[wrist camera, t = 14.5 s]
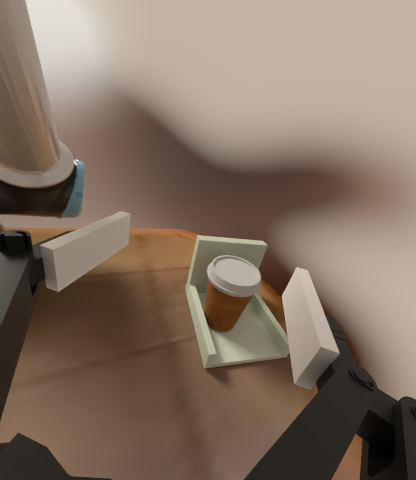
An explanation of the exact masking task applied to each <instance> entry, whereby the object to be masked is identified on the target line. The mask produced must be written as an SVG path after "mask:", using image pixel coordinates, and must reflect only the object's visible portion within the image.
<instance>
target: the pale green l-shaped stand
mask: <svg viewBox="0 0 416 480" xmlns="http://www.w3.org/2000/svg"><path fill="white" fill-rule="evenodd" d="M266 248H267V244H266V243H264V242H263V241H256V240H245V239H233V238H222V237H211V236H199V235H197V239H196V244H195V248H194V253H193V257H192V262H191V267H190V271H189V276H188V280H187V285H186V295H187V299H188V303H189V307H190V311H191V315H192V320H193V324H194V328H195V332H196V336H197V340H198V345H199V349H200V353H201V357H202V361H203V365H204V369H205V368H212V367H220V366H227V365H234V364H242V363H249V362H257V361H264V360H272V359H279V358H286V357H287V355H288V354H289V352H290V350H289V343H288V336H287V335H286V333H285V332H284V330H283V329H282V328H281V326H280V325H279V323H278V322H277V320H276V319H275V317H274V316H273V314H272V313H271V311H270V310H269V308H268V307H267V305H266V304H265V302H264V301H263V300H262V298H261V297H260V295H259V294H258V292H256V293H255V294H254V295H253V296H252V298H251V300H250V301H249V303H248V304H247V306H246V308H245V309H244V311H243V313H242V314H241V316H240V317H239V319H238V321H237V322H236V324H235V326H234V327H233V329H232V330H230V331H228V332H218V331H215V330H213V329H212V328H210V327H209V326H208V325H207V321H206V318H205V315H204V309H205V301H206V292H207V284H208V274H207V268H208V265H209V264H210V263H211V262H212V261H213V259H215V258H216V257H218V256H223V255H231V256H236V257H239V258H242V259H245V260H247V261H248V262H250V263H251V264H253V265H254V266H255V267H256V268H257V269H259V266H260V264H261V261H262V258H263V256H264V253H265V251H266Z"/></svg>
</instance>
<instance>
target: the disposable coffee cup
mask: <svg viewBox="0 0 416 480" xmlns="http://www.w3.org/2000/svg"><path fill="white" fill-rule="evenodd" d="M207 274H208V284H207V292H206V301H205V309H204V315H205V318H206V321H207V325H208V326H209V327H210V328H212V329H213V330H215V331H218V332H228V331H230V330H232V329H233V327H234V326H235V324H236V322H237V321H238V319H239V317H240V316H241V314H242V313H243V311H244V309H245V308H246V306H247V304H248V303H249V301H250V300H251V298H252V296H253V295H254V294H255V293H256V292H257V291H259V289H260V287H261V275H260V272H259V270H258V269H257V268H256V267H255V266H254V265H253V264H251V263H250V262H248V261H247V260H245V259H242V258H239V257H236V256H231V255H223V256H218V257H216V258H215V259H213V261H212V262H211V263H210V264H209V265H208V268H207Z"/></svg>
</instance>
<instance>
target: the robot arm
mask: <svg viewBox="0 0 416 480" xmlns="http://www.w3.org/2000/svg"><path fill="white" fill-rule="evenodd" d="M84 174H85V164H84V163H83V162H81V161H78V160H77V159H73V156H72V154H71V152H70V150H69V149H68V148H67V147H66V146H65V145H64V144H63V143H62V142H60V141H59V139H58V135H57V131H56V127H55V122H54V118H53V114H52V110H51V106H50V102H49V98H48V94H47V89H46V85H45V81H44V77H43V73H42V68H41V64H40V60H39V56H38V52H37V48H36V44H35V39H34V35H33V31H32V27H31V23H30V18H29V14H28V10H27V6H26V2H25V0H0V214H3V215H23V216H42V217H57V218H65V217H68V218H73V217H77V216H79V215H80V213H81V210H82V198H83V186H84ZM129 226H130V214H129V213H126V212H123V211H121V212H118V213H116V214H113V215H111V216H109V217H106V218H104V219H102V220H99V221H97V222H94V223H92V224H89V225H87V226H84V227H82V228H80V229H77V230H73V231H67V232H64V233H62V234H59V236H58V235H57V236H55V237H53V238H50V239H47V240H45V241H42V242H40V243H37V244H35V245H32V241H31V235H30V233H29V232H27V231H23V230H9V231H7V230H6V229H5V228H4V226H3V225H2V224H1V222H0V420H1V416H2V413H3V410H4V406H5V403H6V399H7V396H8V393H9V389H10V386H11V383H12V379H13V376H14V372H15V369H16V366H17V362H18V359H19V356H20V352H21V349H22V345H23V342H24V339H25V335H26V332H27V329H28V325H29V322H30V318H31V315H32V312H33V308H34V305H35V301H36V298H37V295H38V291H39V282H41V281H43V280H44V279H45V281H46V288H49V289H51V290H54V291H56V292H59V291H61V290H62V289H64V288H65V287H66V286H68V285H69V284H71V283H72V282H74V281H75V280H77V279H78V278H80V277H81V276H83V275H84V274H85V273H87V272H88V271H90V270H91V269H93V268H94V267H96V266H97V265H99V264H100V263H102V262H103V261H104V260H106V259H107V258H109V257H110V256H112V255H113V254H115V253H116V252H118V251H119V250H121V249H122V248H123V247H125V246H126V245H128V242H129ZM282 300H283V307H284V314H285V321H286V329H287V336H288V343H289V350H290V357H291V365H292V372H293V379H294V384H295V385H298V386H300V387H303V388H305V389H308V390H311V389H312V388H313V387H314V385H315V384H317V388H318V393H317V394H316V395H315V397H314V398H313V399H312V400H311V401H310V403H309V404H308V405H307V406H306V407H305V408H304V410H303V411H302V412H301V413H300V414H299V415H298V417H297V418H296V419H295V420H294V421H293V422H292V424H291V425H290V426H289V427H288V428H287V430H286V431H285V432H284V433H283V434H282V435H281V437H280V438H279V439H278V440H277V441H276V442H275V444H274V445H273V446H272V447H271V448H270V449H269V451H268V452H267V453H266V454H265V455H264V457H263V458H262V459H261V460H260V461H259V462H258V464H257V465H256V466H255V467H254V468H253V469H252V471H251V472H250V473H249V474H248V475H247V476H246V478H245V479H244V480H331V479H332V477H333V475H334V473H335V472H336V470H337V468H338V466H339V464H340V462H341V460H342V458H343V456H344V455H345V453H346V451H347V449H348V447H349V445H350V443H351V441H352V440H353V438H354V436H355V434H357V435H358V436H360V437H361V438H363V443H362V456H361V470H360V480H416V400H415V399H413V398H411V397H407V396H406V397H402V398H401V399H400V400H399V401H397V400H395V399H394V398H392V397H390V396H389V395H387V394H386V393H384V392H383V391H381V390H379V389H378V388H377V385H376V383H375V381H374V380H373V378H372V377H371V376H370V375H369V374H368V373H367V372H366V371H365V370H364V369H363V368H362V367H360V366H358V365H357V364H356V361H355V359H354V357H353V355H352V353H351V350H350V348H349V346H348V344H347V342H346V341H345V340H346V339H345V337H344V335H343V333H342V330H341V328H340V326H339V324H338V323H337V322H336V321H335V320H334V319H333V317H331V316H328V315H325V314H324V311H323V309H322V306H321V304H320V301H319V298H318V296H317V293H316V291H315V288H314V285H313V283H312V280H311V278H310V275H309V273H308V271H307V270H304V269H301V268H298V267H297V268H296V270H295V272H294V274H293V276H292V278H291V280H290V282H289V284H288V286H287V288H286V290H285V292H284V294H283V295H282ZM0 480H112V479H107V478H89V477H73V476H70V475H68V474H67V473H66V471H65V470H64V469H63V467H62V466H61V465H60V464H59V462H58V461H57V460H56V458H55V457H54V456H53V454H52V453H51V452H50V451H49V449H48V448H47V447H46V446H44V445H42V444H40V443H38V442H36V441H34V440H32V439H30V438H28V437H26V436H24V435H22V434H20V433H17V435H16V436H15V437H14V438H13V439H12V440H11V441H10V443H0Z"/></svg>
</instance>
